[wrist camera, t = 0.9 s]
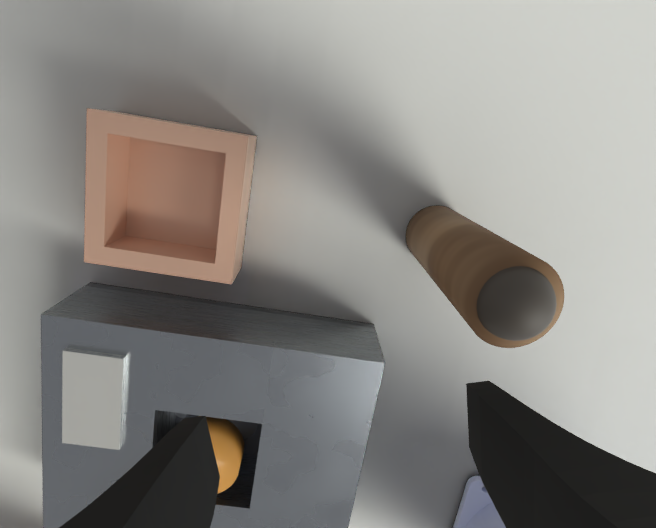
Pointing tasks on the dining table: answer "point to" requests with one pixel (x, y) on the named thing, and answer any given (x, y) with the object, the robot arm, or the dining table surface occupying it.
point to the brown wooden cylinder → (486, 277)
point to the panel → (207, 400)
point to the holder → (166, 196)
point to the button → (226, 450)
